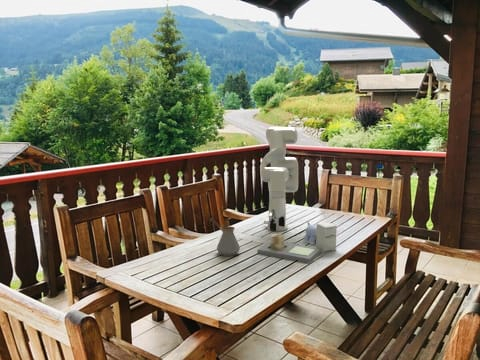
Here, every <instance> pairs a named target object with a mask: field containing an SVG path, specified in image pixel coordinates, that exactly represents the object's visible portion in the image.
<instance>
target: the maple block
mask: <svg viewBox="0 0 480 360" xmlns="http://www.w3.org/2000/svg"><path fill="white" fill-rule="evenodd" d="M270 241H271V249H274V250H280V251H282V250H283V249H284V243H285V234H280V233H273V234H272V235H270Z"/></svg>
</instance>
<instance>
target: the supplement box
mask: <svg viewBox="0 0 480 360" xmlns="http://www.w3.org/2000/svg"><path fill="white" fill-rule="evenodd" d="M316 225H317V229H316V239H315V248H319V249H321V252H328V251H335V250H336V249H337V247H336V246H337V229H338V228H337V225H336V224H333V223H330V222H324V223H323V222H321V223H316Z"/></svg>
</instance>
